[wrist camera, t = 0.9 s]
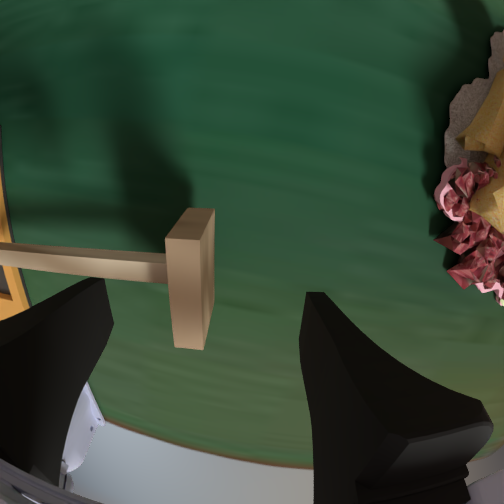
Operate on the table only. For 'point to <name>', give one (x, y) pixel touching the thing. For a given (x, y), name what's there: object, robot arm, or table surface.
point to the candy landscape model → (476, 179)
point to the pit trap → (6, 277)
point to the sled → (145, 270)
